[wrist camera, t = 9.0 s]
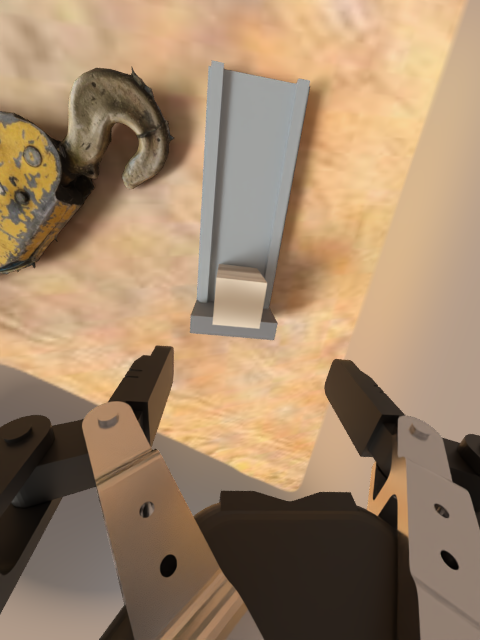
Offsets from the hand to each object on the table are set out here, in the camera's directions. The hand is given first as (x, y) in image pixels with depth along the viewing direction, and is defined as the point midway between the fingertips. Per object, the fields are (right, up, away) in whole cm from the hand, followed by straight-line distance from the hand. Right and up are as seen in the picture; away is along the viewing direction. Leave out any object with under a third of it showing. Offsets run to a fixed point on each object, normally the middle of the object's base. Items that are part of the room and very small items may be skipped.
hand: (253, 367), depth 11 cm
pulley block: (-21, +16, +12) cm, 29 cm away
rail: (0, +14, +14) cm, 19 cm away
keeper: (-1, +7, +15) cm, 17 cm away
